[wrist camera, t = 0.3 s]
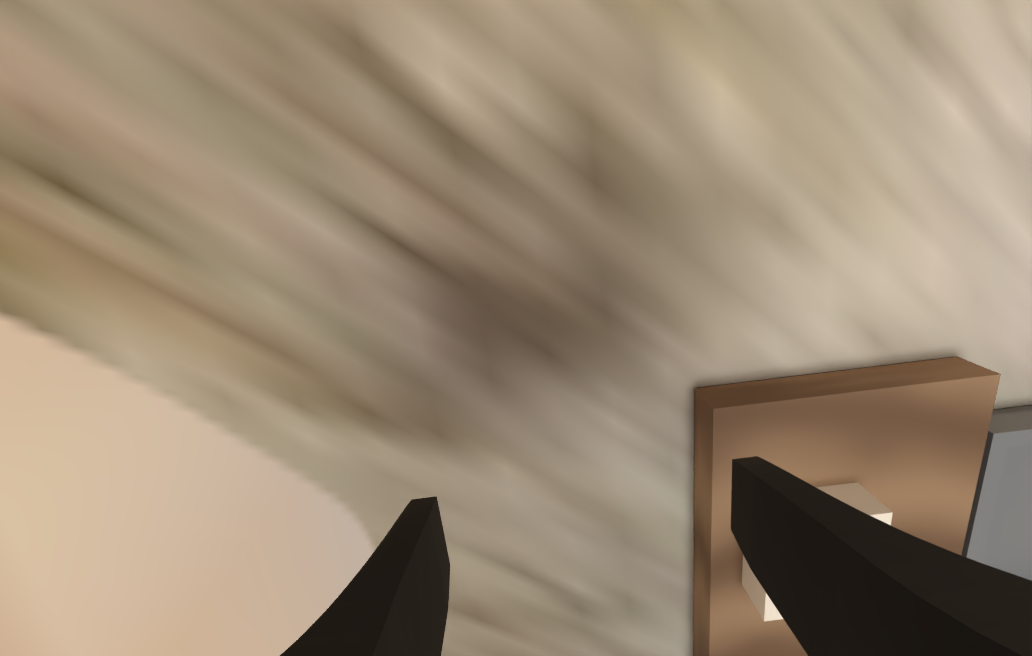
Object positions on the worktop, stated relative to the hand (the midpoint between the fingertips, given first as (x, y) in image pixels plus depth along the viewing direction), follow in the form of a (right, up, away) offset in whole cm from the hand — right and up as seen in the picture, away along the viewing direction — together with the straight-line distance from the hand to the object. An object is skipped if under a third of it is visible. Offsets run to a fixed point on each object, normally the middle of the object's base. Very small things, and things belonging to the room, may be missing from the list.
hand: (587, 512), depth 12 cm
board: (+13, -6, +13) cm, 20 cm away
